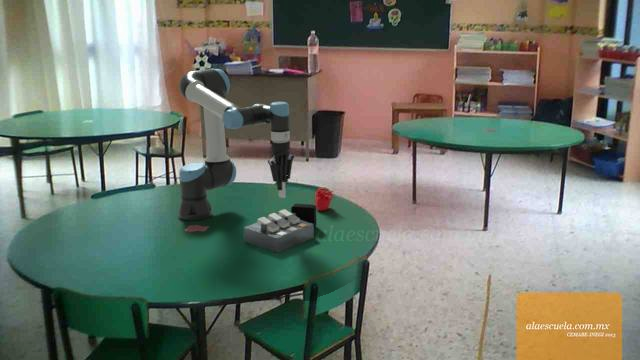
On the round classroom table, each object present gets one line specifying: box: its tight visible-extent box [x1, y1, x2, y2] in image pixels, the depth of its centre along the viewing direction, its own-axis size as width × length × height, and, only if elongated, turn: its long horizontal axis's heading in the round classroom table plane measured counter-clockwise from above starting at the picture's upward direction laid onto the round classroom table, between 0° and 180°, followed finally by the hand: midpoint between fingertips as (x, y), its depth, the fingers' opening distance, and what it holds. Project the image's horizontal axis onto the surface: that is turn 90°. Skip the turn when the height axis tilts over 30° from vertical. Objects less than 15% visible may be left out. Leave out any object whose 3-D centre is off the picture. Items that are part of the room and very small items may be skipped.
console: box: [243, 213, 315, 254], centre depth 255 cm, size 19×21×9 cm
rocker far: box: [277, 208, 300, 224], centre depth 258 cm, size 9×3×2 cm, turn 49°
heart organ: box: [314, 186, 336, 212], centre depth 291 cm, size 10×12×12 cm
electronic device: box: [290, 203, 317, 230], centre depth 267 cm, size 4×10×10 cm, turn 78°
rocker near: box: [256, 216, 279, 232], centre depth 249 cm, size 9×3×2 cm, turn 49°
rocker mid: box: [267, 212, 290, 228], centre depth 254 cm, size 9×3×2 cm, turn 49°
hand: (282, 196), depth 257 cm, fingers closed
